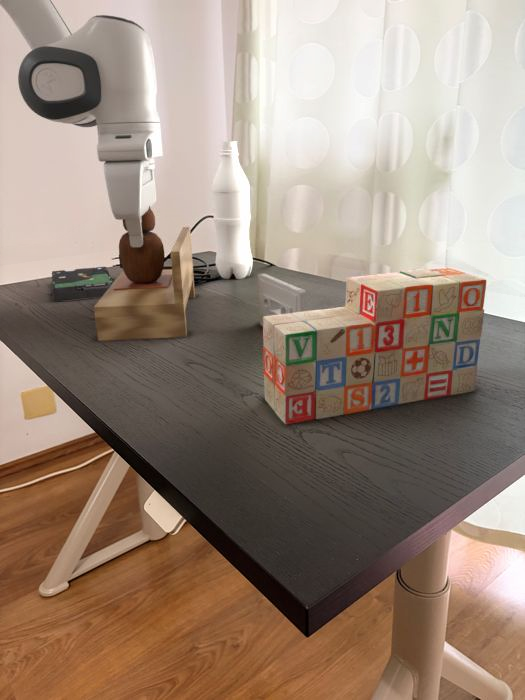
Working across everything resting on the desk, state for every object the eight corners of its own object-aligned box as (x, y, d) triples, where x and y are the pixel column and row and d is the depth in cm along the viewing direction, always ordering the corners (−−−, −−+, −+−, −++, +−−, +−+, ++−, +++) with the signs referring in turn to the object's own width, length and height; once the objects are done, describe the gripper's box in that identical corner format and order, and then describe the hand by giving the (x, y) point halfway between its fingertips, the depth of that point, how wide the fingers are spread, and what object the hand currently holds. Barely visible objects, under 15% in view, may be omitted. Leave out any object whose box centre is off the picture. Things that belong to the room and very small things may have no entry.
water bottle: (260, 276, 115) (256, 140, 106) (234, 283, 110) (227, 141, 101) (235, 271, 119) (229, 141, 110) (208, 277, 114) (200, 142, 106)
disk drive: (53, 285, 113) (54, 303, 99) (50, 271, 112) (51, 287, 98) (107, 279, 116) (116, 296, 103) (106, 265, 115) (114, 280, 102)
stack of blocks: (284, 427, 55) (282, 301, 51) (263, 401, 61) (260, 285, 56) (476, 392, 61) (488, 277, 57) (440, 371, 67) (449, 265, 63)
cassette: (309, 348, 75) (309, 290, 73) (296, 350, 75) (296, 292, 72) (267, 324, 85) (266, 272, 83) (256, 325, 85) (254, 273, 82)
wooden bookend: (98, 342, 80) (86, 254, 76) (125, 299, 101) (117, 229, 96) (186, 338, 80) (179, 251, 76) (195, 297, 101) (190, 226, 97)
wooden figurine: (114, 282, 90) (103, 181, 85) (140, 275, 95) (131, 178, 89) (148, 287, 87) (139, 182, 81) (173, 279, 91) (165, 179, 86)
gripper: (121, 145, 93) (130, 232, 98) (93, 147, 74) (106, 256, 79) (161, 143, 94) (168, 230, 98) (143, 146, 74) (153, 254, 79)
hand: (140, 242), depth 88 cm, fingers closed on wooden figurine, 6 cm apart
